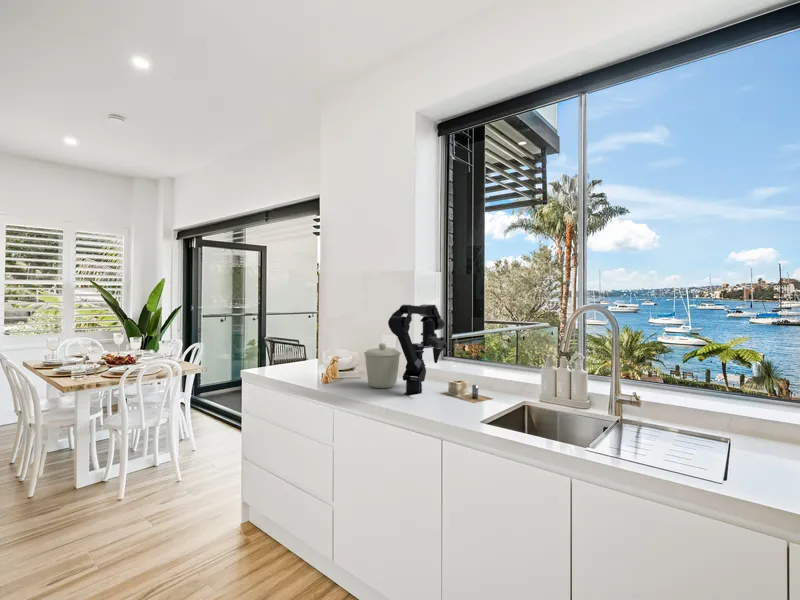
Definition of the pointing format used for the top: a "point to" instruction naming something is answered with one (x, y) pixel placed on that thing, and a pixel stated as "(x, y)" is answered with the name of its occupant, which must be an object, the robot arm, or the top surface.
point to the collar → (458, 387)
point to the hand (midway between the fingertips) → (428, 364)
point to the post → (474, 391)
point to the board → (468, 397)
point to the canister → (382, 366)
